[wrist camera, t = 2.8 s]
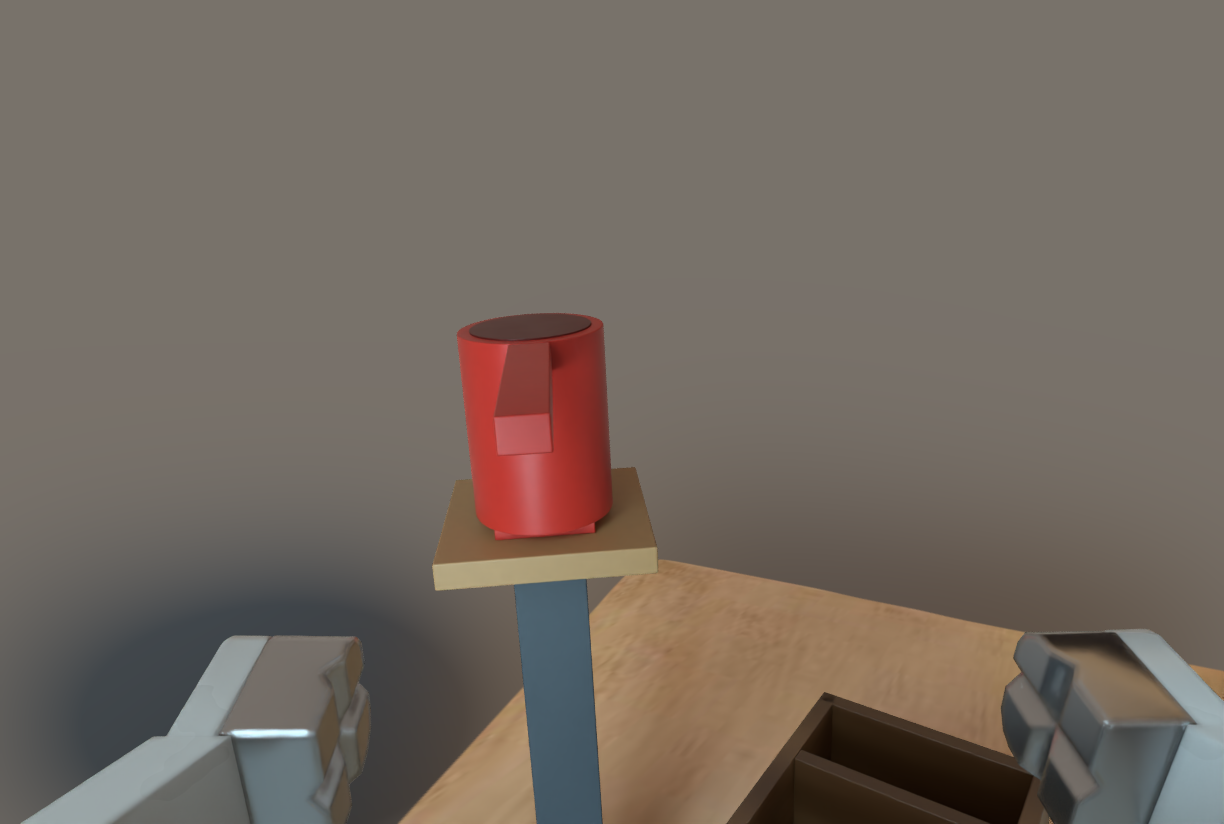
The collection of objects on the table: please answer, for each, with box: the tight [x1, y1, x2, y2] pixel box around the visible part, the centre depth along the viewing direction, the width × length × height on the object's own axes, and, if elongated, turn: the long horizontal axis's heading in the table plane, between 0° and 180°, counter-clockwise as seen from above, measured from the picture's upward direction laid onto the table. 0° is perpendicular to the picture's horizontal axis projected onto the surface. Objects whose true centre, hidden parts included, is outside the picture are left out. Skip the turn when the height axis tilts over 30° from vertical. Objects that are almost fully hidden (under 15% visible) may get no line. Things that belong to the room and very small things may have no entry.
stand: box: [432, 467, 658, 824], centre depth 42 cm, size 9×9×25 cm
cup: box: [457, 313, 613, 540], centre depth 32 cm, size 15×6×9 cm, turn 4°
